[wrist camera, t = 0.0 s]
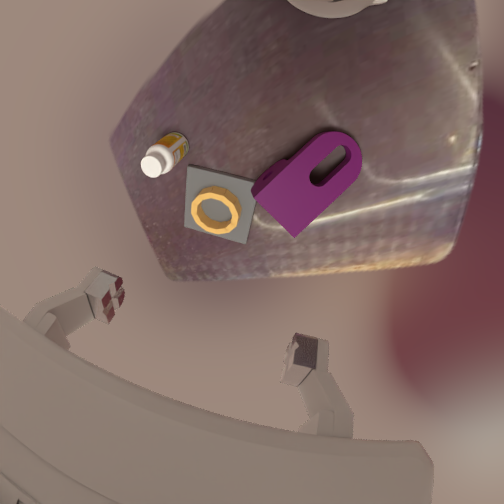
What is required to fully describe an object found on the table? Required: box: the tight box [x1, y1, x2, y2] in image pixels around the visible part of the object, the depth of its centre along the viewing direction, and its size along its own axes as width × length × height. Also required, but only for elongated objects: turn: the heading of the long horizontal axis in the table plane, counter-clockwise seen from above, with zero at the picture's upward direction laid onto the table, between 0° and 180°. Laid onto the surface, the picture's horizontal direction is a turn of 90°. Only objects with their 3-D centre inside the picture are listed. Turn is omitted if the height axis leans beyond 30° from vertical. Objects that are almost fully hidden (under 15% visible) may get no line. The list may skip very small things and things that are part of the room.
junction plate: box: [184, 164, 256, 244], centre depth 55 cm, size 15×14×4 cm
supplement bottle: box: [141, 132, 189, 177], centre depth 45 cm, size 5×5×10 cm
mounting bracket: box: [251, 131, 362, 238], centre depth 46 cm, size 10×8×18 cm
